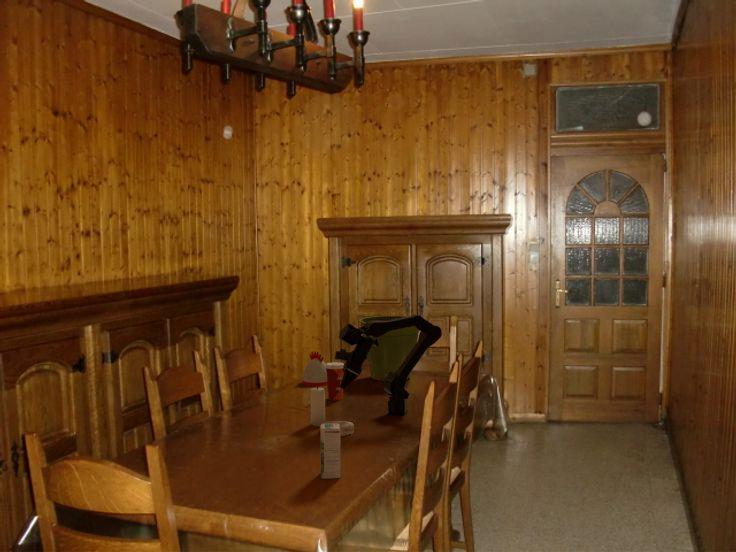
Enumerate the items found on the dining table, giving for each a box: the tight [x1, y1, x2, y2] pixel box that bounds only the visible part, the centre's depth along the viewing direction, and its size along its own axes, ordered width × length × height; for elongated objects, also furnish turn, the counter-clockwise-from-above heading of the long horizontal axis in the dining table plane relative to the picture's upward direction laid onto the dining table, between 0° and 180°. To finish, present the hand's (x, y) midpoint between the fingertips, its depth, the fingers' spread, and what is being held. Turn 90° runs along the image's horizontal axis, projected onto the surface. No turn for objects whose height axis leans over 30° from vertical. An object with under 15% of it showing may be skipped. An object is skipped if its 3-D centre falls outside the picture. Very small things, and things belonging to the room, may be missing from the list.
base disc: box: [319, 420, 355, 437], centre depth 240 cm, size 12×12×2 cm
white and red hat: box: [301, 351, 328, 387], centre depth 321 cm, size 14×14×15 cm
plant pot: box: [358, 315, 420, 382], centre depth 329 cm, size 30×30×29 cm
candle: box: [310, 386, 326, 427], centre depth 250 cm, size 5×5×14 cm
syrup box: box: [319, 423, 342, 480], centre depth 196 cm, size 6×6×14 cm
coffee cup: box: [325, 361, 344, 401], centre depth 289 cm, size 8×8×15 cm
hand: (341, 388), depth 255 cm, fingers open, 9 cm apart
